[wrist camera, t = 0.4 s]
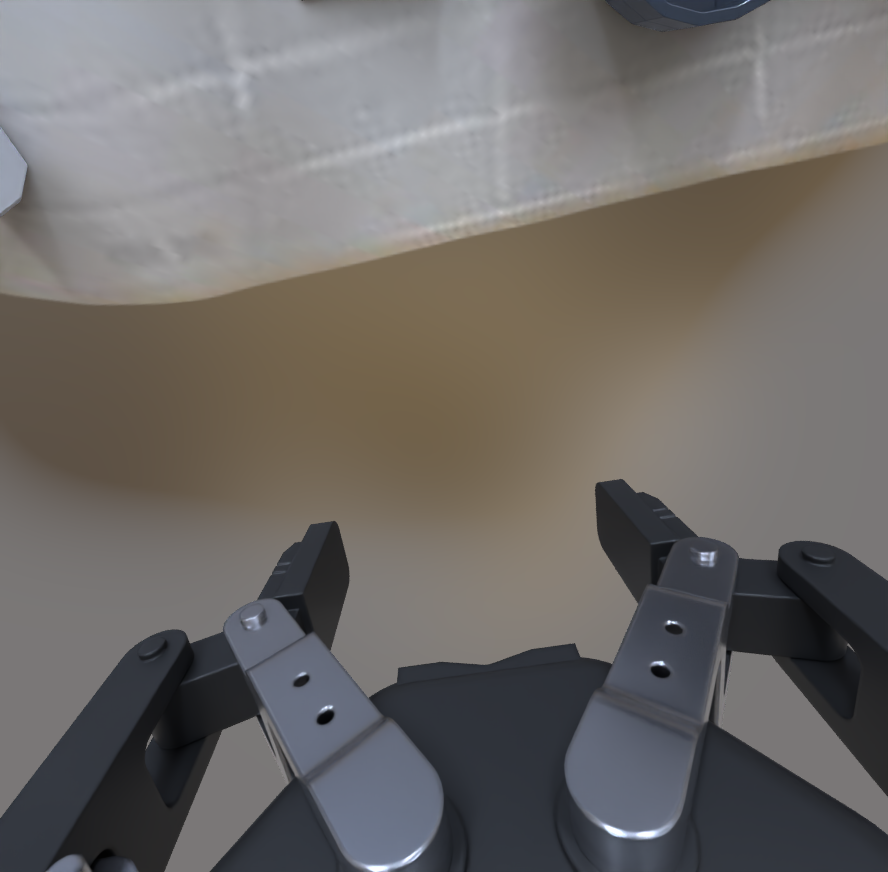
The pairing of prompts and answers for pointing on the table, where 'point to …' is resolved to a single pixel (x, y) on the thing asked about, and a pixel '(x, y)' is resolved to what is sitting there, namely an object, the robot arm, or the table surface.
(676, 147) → the table surface
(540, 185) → the table surface
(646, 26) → the bowl
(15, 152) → the soap bottle
